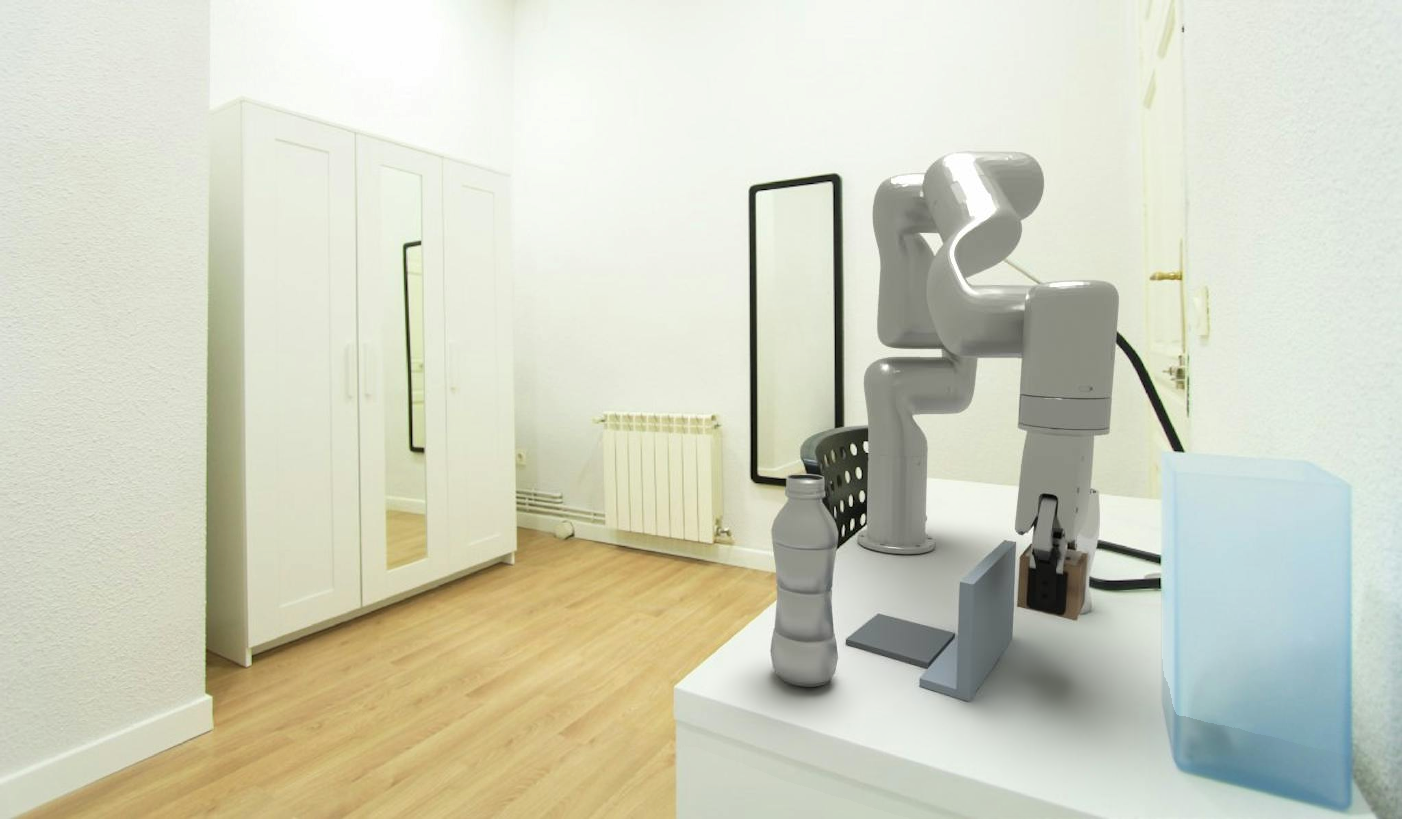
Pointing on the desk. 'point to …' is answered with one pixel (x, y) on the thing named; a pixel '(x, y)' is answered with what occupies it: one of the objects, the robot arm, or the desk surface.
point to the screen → (978, 626)
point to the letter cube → (1075, 585)
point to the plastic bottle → (804, 585)
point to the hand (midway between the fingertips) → (1051, 598)
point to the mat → (901, 640)
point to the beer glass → (1089, 541)
